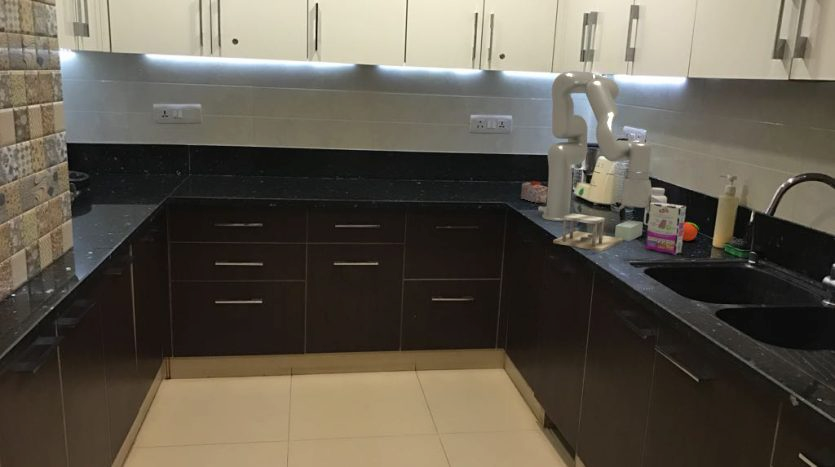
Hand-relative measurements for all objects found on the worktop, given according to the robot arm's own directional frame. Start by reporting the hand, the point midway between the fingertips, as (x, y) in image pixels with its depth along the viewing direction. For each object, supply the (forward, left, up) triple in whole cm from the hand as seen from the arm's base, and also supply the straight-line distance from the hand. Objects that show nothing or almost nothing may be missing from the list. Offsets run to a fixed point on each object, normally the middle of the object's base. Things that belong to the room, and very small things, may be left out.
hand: (635, 221), depth 263 cm
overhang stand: (-9, -22, -5) cm, 24 cm away
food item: (-62, +38, -6) cm, 73 cm away
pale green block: (-1, -4, -5) cm, 7 cm away
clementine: (+18, +5, -6) cm, 20 cm away
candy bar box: (+16, -17, -6) cm, 24 cm away
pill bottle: (-1, +25, -6) cm, 26 cm away
